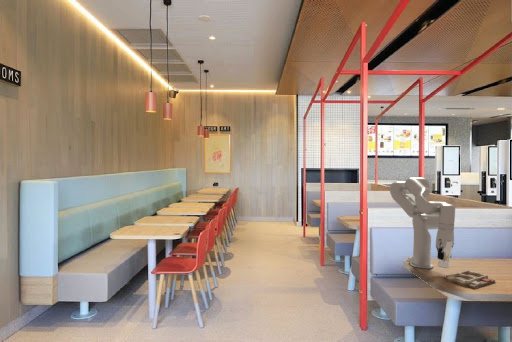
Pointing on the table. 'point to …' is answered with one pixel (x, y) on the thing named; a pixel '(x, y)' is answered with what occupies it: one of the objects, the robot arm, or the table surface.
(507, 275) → the table surface
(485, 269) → the table surface
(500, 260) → the table surface
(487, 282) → the divided sorting tray
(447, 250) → the silver piece
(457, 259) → the table surface
